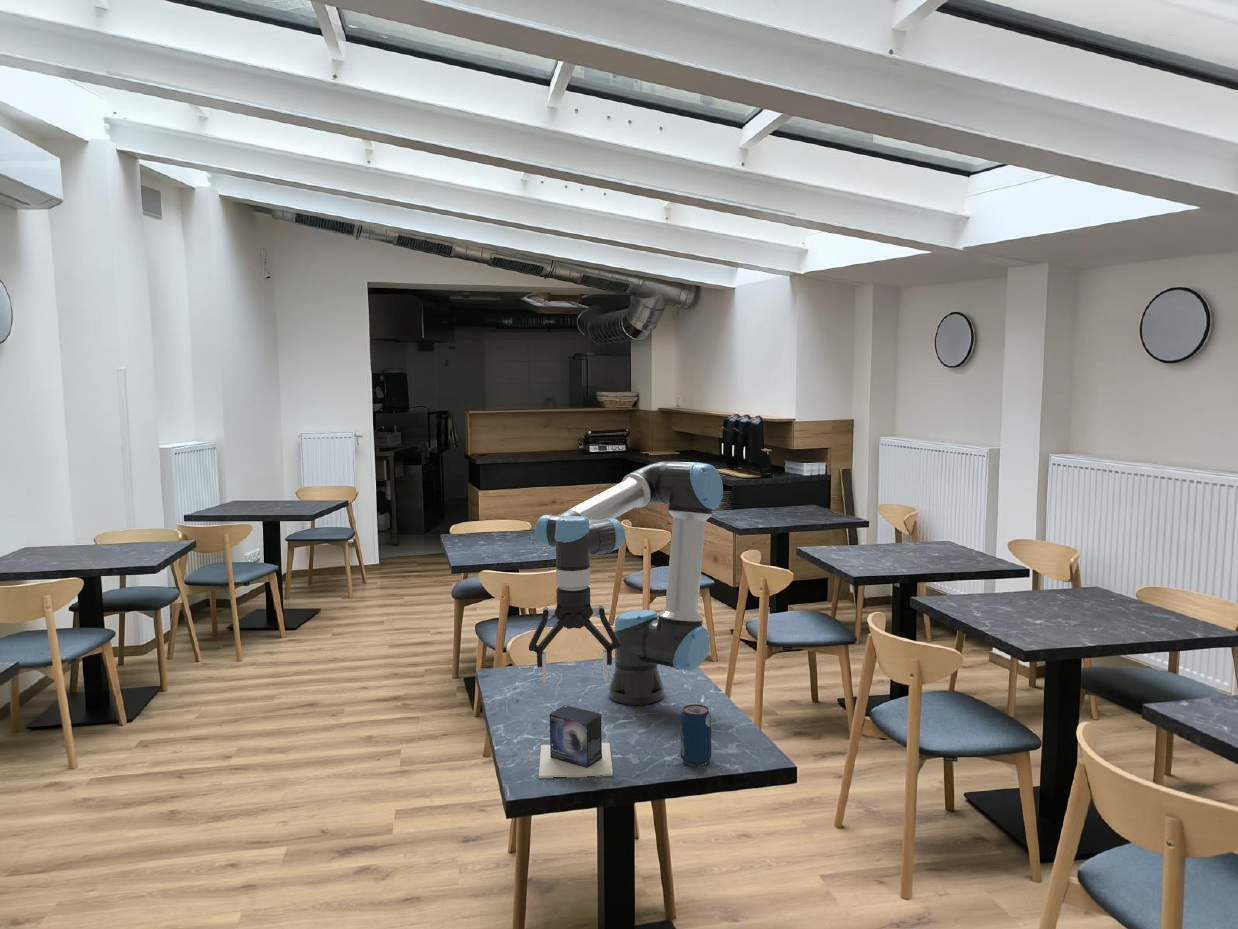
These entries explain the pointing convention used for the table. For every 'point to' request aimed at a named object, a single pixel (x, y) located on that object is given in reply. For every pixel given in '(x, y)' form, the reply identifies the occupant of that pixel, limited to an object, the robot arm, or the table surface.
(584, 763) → the small box
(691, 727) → the soda can
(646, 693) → the robot arm
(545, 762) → the mat
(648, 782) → the table surface
